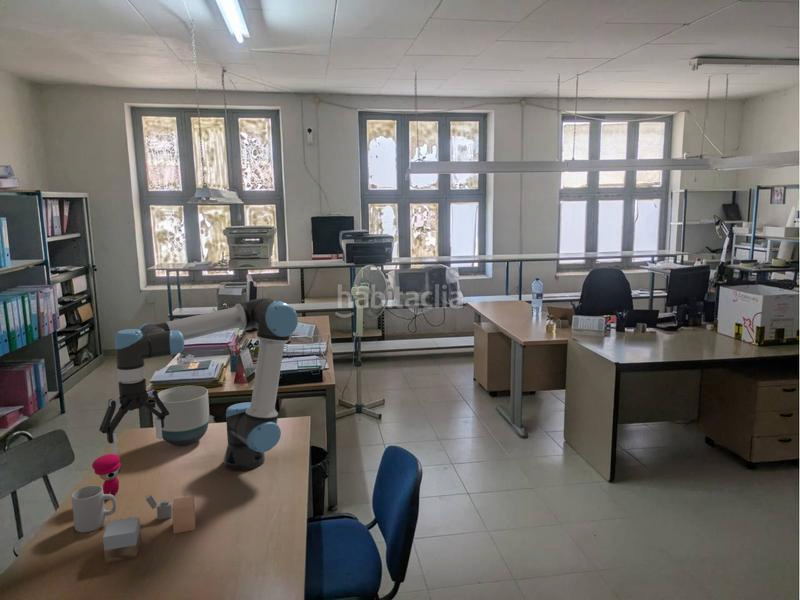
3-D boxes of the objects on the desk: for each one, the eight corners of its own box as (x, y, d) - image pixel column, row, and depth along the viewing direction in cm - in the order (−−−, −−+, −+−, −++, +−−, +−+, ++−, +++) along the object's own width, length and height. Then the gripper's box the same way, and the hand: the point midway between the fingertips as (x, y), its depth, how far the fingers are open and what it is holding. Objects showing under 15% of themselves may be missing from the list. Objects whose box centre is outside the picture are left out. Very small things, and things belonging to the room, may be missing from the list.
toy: (111, 505, 179) (107, 462, 177) (89, 502, 181) (85, 460, 178) (129, 492, 188) (125, 451, 185) (108, 489, 189) (104, 449, 187)
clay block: (195, 519, 171) (194, 495, 170) (194, 529, 166) (193, 505, 164) (175, 522, 170) (173, 498, 168) (173, 533, 164) (171, 509, 163)
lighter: (172, 514, 174) (170, 491, 173) (171, 517, 172) (169, 494, 171) (148, 518, 172) (146, 494, 171) (147, 521, 170) (145, 497, 169)
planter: (151, 442, 228) (147, 393, 224) (198, 428, 241) (195, 382, 238) (169, 458, 213) (165, 406, 209) (219, 443, 227) (216, 394, 223)
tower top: (140, 529, 160) (139, 516, 159) (136, 545, 152) (134, 532, 152) (110, 533, 157) (108, 521, 157) (104, 550, 150) (102, 537, 149)
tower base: (141, 541, 160) (140, 529, 160) (136, 558, 153) (135, 545, 152) (111, 546, 158) (109, 533, 157) (105, 563, 151) (103, 550, 150)
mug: (70, 534, 163) (67, 501, 161) (79, 519, 171) (76, 486, 170) (114, 529, 166) (111, 495, 164) (121, 514, 174) (118, 482, 172)
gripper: (166, 368, 178) (171, 429, 182) (83, 387, 160) (90, 454, 164) (177, 373, 173) (181, 436, 177) (92, 392, 155) (99, 462, 159)
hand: (137, 445), depth 170 cm, fingers open, 13 cm apart
